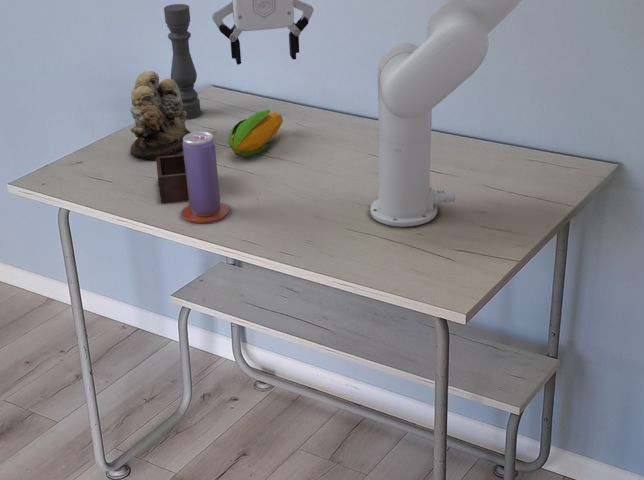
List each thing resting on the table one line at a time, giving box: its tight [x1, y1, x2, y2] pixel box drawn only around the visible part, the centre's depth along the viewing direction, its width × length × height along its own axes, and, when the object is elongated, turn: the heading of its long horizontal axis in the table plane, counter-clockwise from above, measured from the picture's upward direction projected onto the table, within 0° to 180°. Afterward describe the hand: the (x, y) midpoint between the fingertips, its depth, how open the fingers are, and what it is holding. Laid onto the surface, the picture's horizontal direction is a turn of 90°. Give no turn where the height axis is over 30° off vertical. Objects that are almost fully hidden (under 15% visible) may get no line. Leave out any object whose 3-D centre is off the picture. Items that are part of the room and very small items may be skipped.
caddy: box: [155, 153, 189, 204], centre depth 206 cm, size 11×11×6 cm
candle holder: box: [163, 3, 202, 120], centre depth 236 cm, size 6×6×25 cm
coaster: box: [181, 202, 230, 224], centre depth 198 cm, size 9×9×1 cm
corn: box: [227, 109, 284, 158], centre depth 223 cm, size 7×8×20 cm
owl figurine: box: [129, 70, 192, 161], centre depth 222 cm, size 18×12×17 cm, turn 155°
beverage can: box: [182, 131, 221, 217], centre depth 193 cm, size 6×6×15 cm
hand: (265, 59), depth 178 cm, fingers open, 9 cm apart
